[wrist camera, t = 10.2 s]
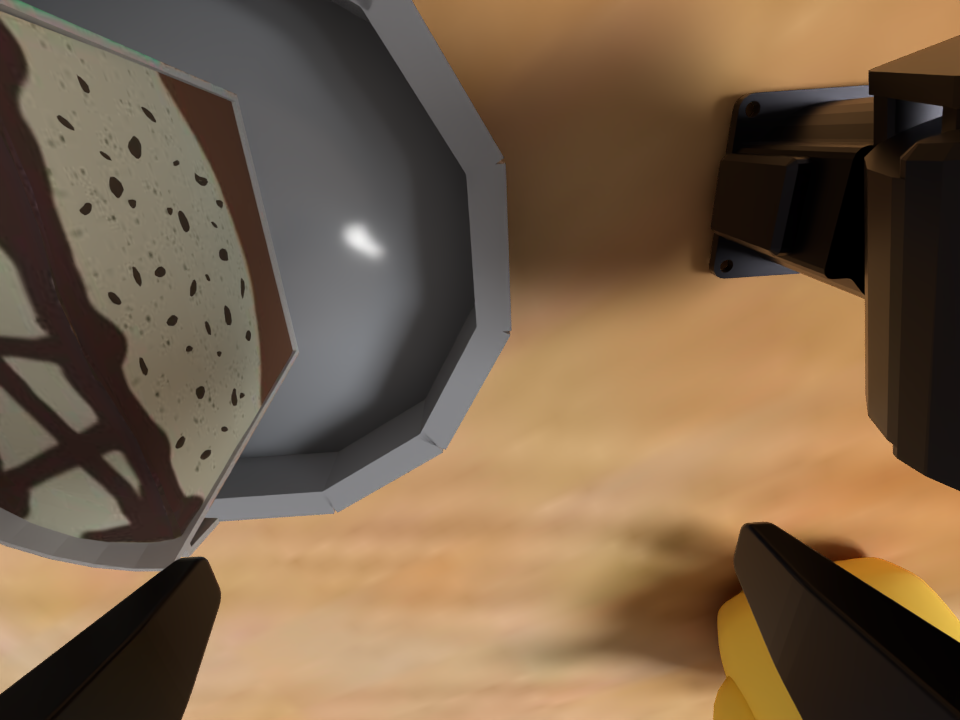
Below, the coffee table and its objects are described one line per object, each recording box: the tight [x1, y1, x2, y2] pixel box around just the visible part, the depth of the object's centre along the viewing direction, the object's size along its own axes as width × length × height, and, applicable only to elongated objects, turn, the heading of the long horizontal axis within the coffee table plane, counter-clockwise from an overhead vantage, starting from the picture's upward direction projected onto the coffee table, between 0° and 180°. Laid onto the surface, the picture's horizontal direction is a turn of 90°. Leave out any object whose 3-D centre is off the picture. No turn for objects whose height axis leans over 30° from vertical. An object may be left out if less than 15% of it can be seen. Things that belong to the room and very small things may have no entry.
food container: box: [0, 0, 299, 571], centre depth 13 cm, size 12×6×10 cm, turn 3°
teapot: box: [713, 557, 960, 720], centre depth 24 cm, size 14×13×10 cm
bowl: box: [19, 0, 511, 521], centre depth 17 cm, size 21×21×4 cm
